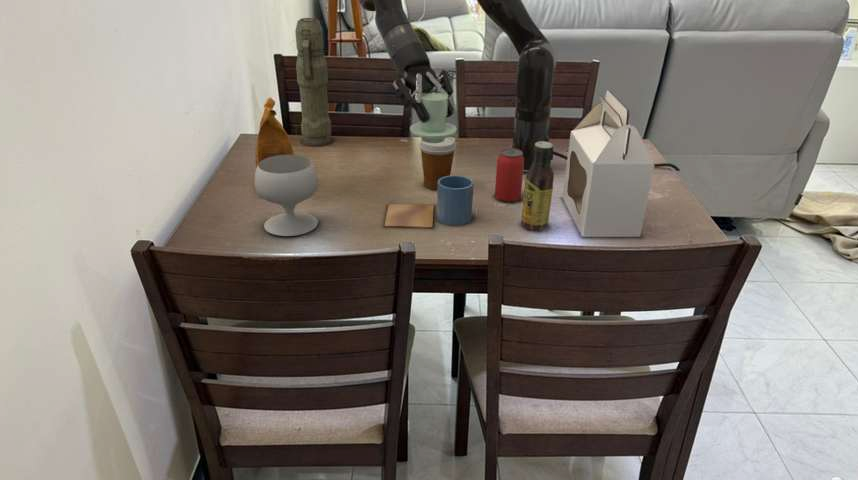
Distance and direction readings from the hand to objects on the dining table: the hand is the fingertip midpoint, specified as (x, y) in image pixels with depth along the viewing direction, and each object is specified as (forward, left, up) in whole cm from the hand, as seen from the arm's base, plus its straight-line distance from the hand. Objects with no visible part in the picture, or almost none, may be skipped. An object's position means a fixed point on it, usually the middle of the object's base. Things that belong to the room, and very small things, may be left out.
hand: (438, 117), depth 146 cm
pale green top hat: (+1, -1, -5) cm, 6 cm away
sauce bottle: (-23, +2, -24) cm, 34 cm away
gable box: (-39, -4, -24) cm, 46 cm away
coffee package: (+41, -17, -24) cm, 51 cm away
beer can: (-18, -14, -24) cm, 33 cm away
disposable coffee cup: (0, -21, -24) cm, 32 cm away
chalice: (+33, +5, -24) cm, 42 cm away
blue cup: (-4, -1, -24) cm, 25 cm away
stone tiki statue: (+37, -53, -24) cm, 69 cm away
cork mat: (+6, -1, -24) cm, 25 cm away
